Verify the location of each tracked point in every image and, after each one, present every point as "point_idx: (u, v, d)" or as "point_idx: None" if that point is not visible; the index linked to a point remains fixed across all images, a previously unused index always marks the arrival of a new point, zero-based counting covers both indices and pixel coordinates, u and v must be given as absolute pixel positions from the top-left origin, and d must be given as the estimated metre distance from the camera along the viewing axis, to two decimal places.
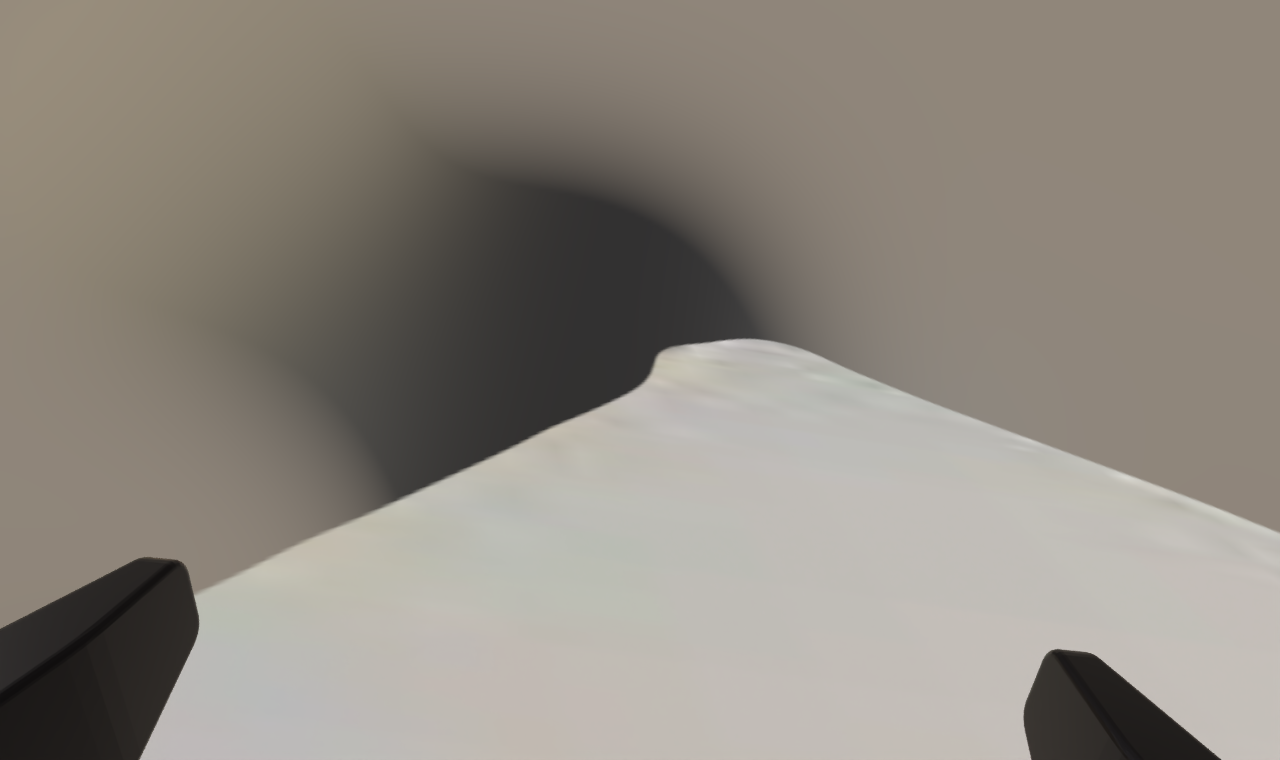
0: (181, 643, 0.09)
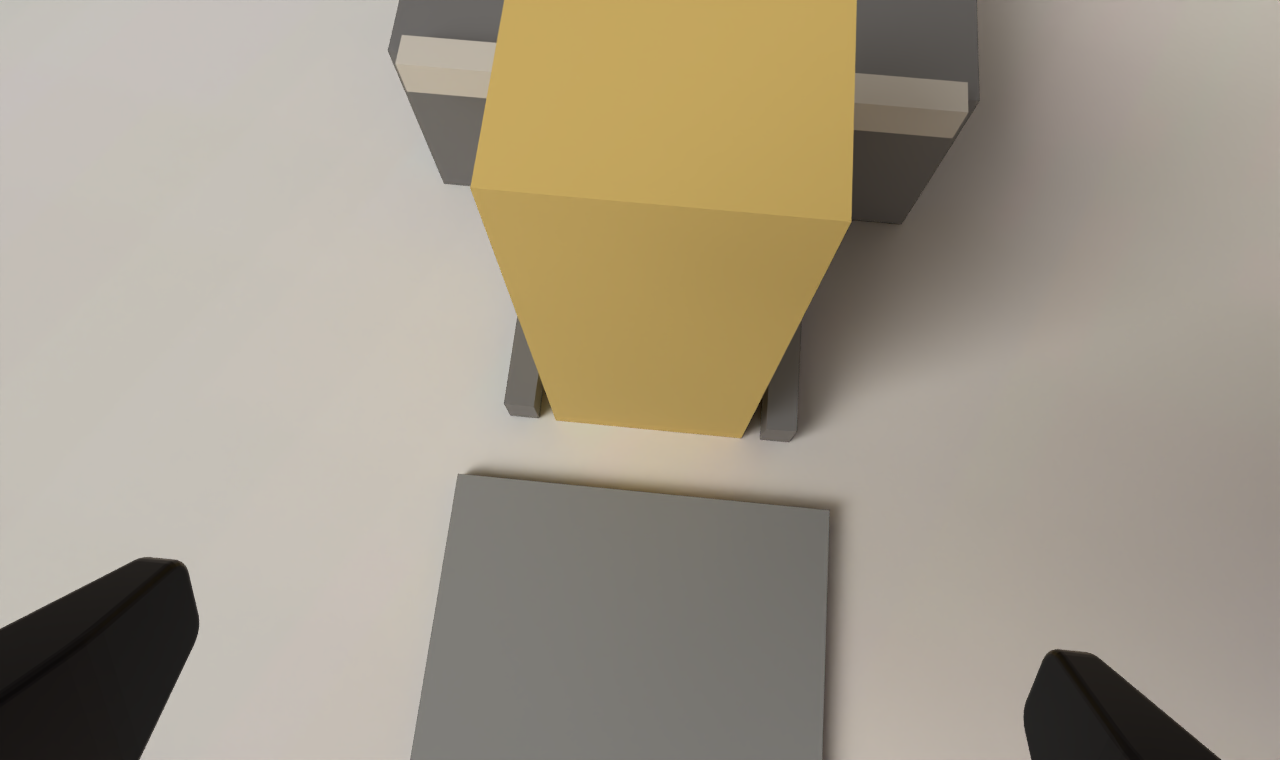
0: (181, 643, 0.09)
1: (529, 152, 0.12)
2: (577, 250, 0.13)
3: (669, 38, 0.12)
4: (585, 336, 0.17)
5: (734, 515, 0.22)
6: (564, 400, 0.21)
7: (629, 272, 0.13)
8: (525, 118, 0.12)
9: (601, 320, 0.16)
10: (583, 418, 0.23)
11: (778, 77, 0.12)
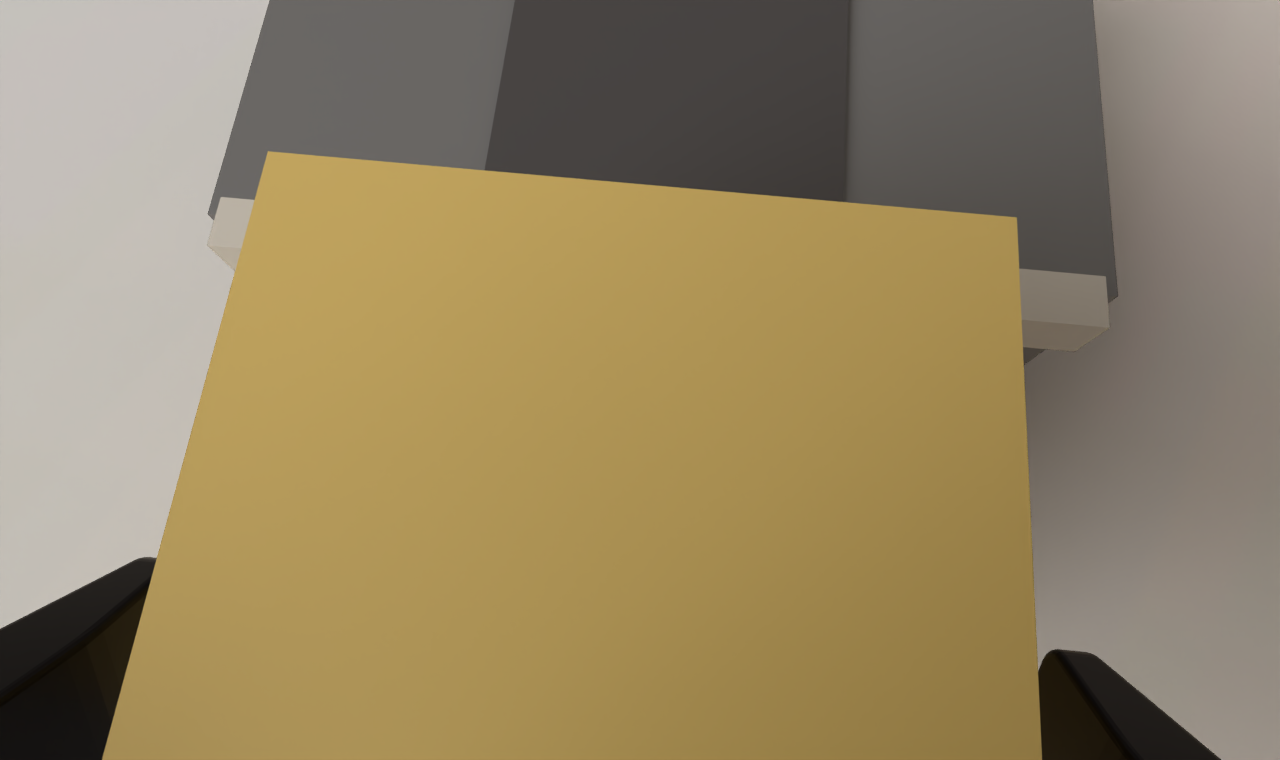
0: None
1: (238, 744, 0.05)
2: None
3: (593, 416, 0.05)
4: None
5: None
6: None
7: None
8: (237, 638, 0.05)
9: None
10: None
11: (850, 523, 0.05)
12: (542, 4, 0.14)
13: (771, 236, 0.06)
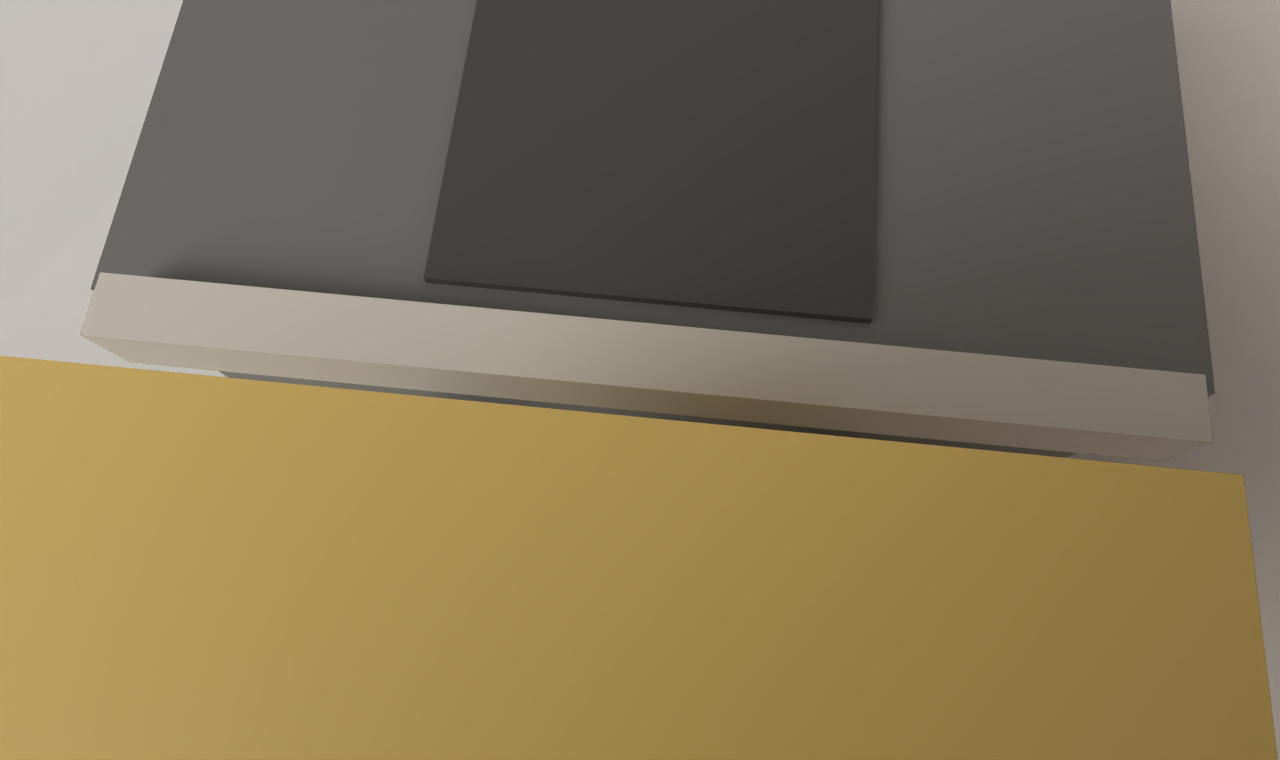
0: None
1: None
2: None
3: None
4: None
5: None
6: None
7: None
8: None
9: None
10: None
11: None
12: (506, 26, 0.12)
13: (812, 513, 0.03)
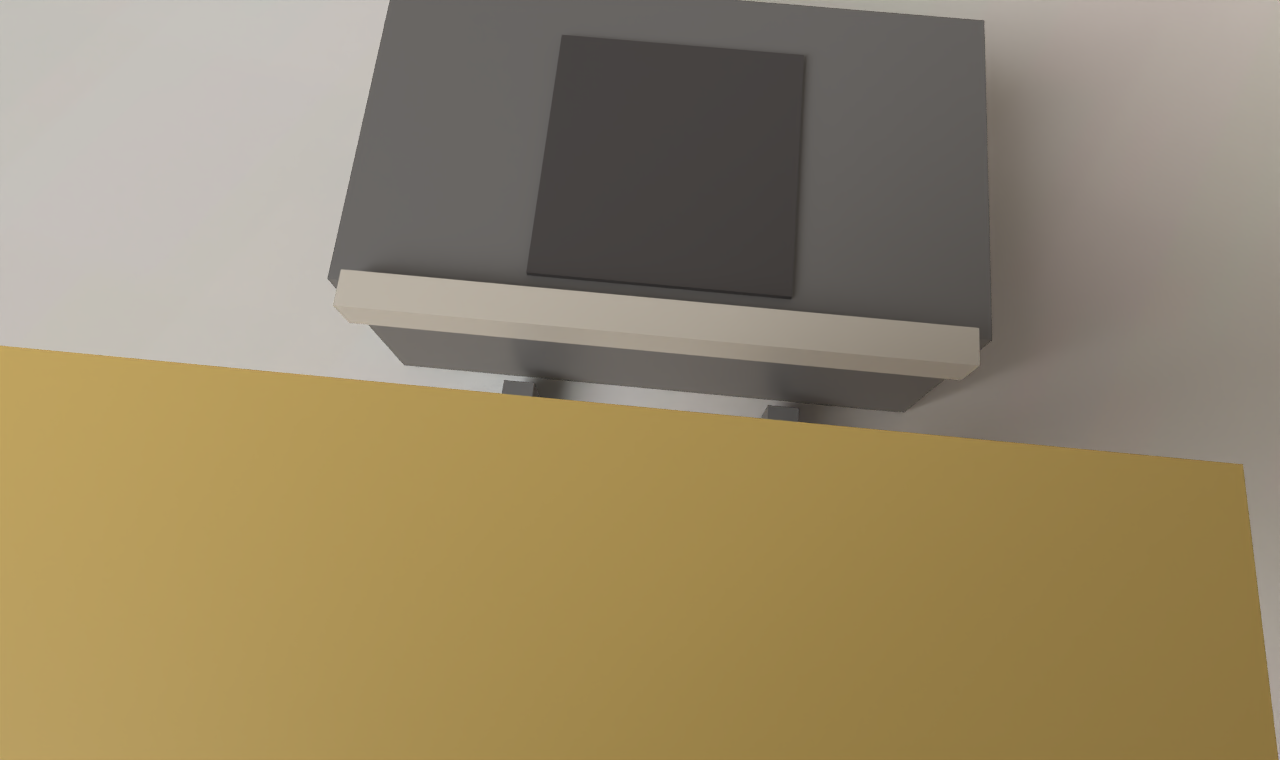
0: None
1: None
2: None
3: None
4: None
5: None
6: None
7: None
8: None
9: None
10: None
11: None
12: (570, 115, 0.19)
13: (814, 502, 0.03)
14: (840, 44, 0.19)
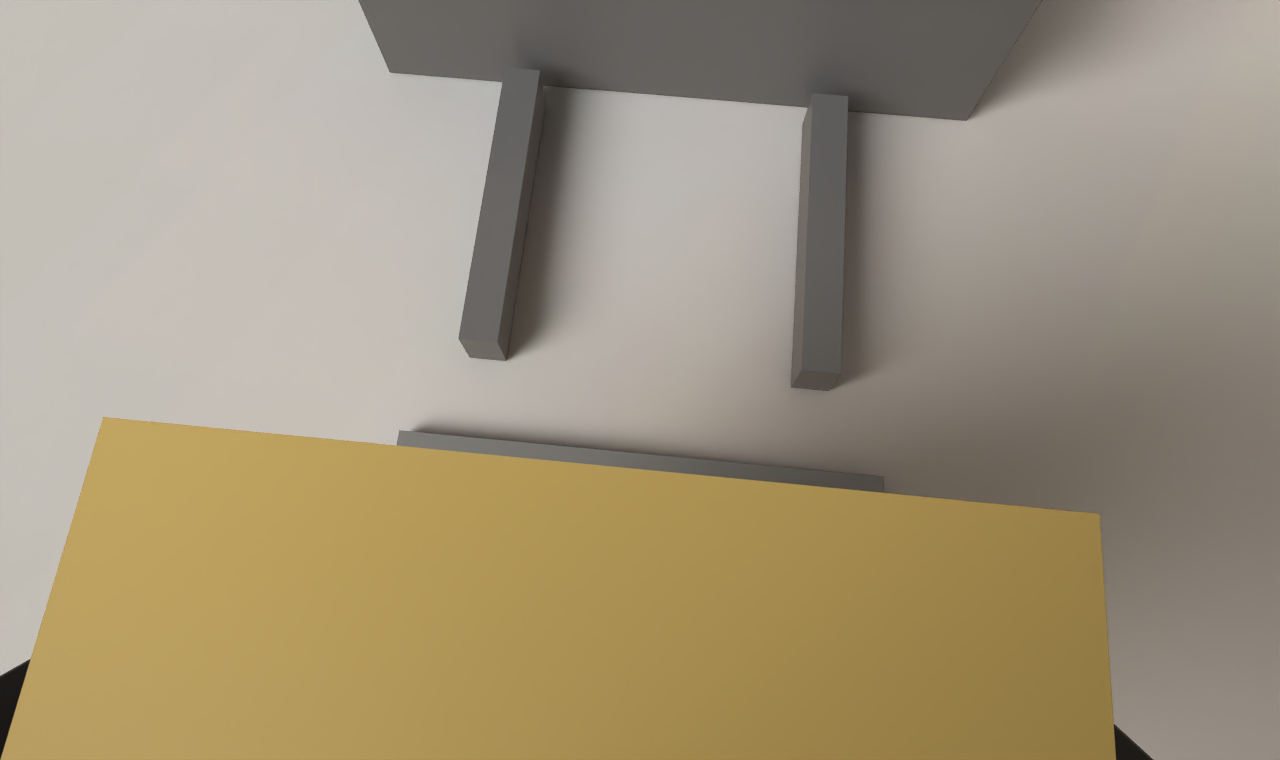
0: None
1: None
2: None
3: None
4: None
5: None
6: None
7: None
8: None
9: None
10: None
11: None
12: None
13: (770, 544, 0.04)
14: None
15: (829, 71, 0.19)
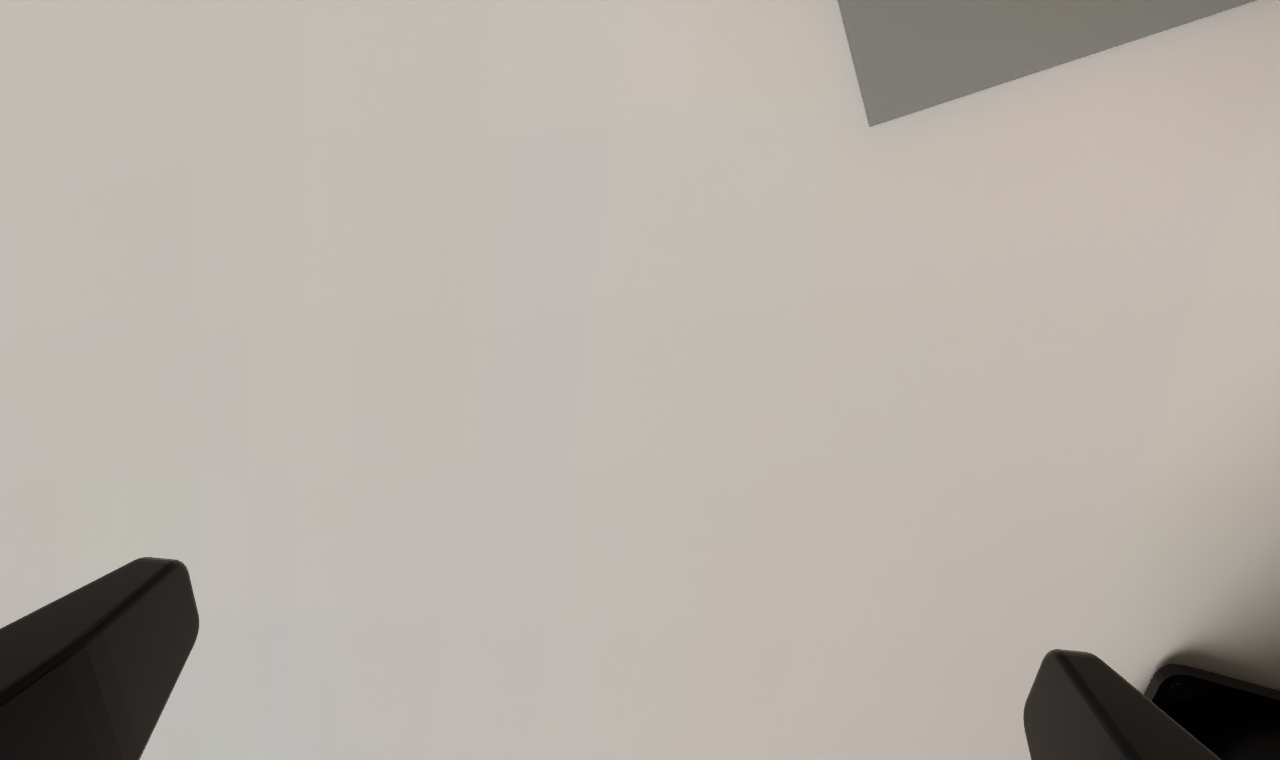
0: (181, 643, 0.09)
1: None
2: None
3: None
4: None
5: None
6: None
7: None
8: None
9: None
10: None
11: None
12: None
13: None
14: None
15: None
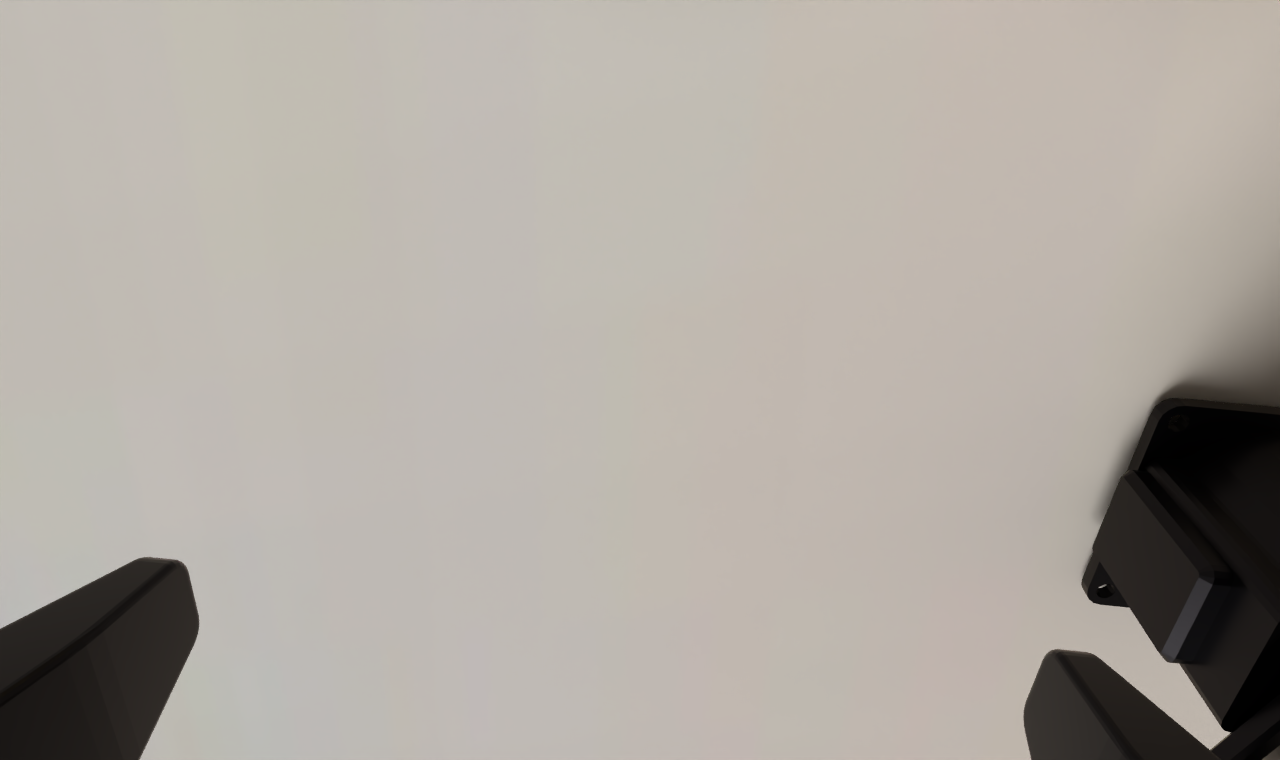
0: (181, 643, 0.09)
1: None
2: None
3: None
4: None
5: None
6: None
7: None
8: None
9: None
10: None
11: None
12: None
13: None
14: None
15: None
